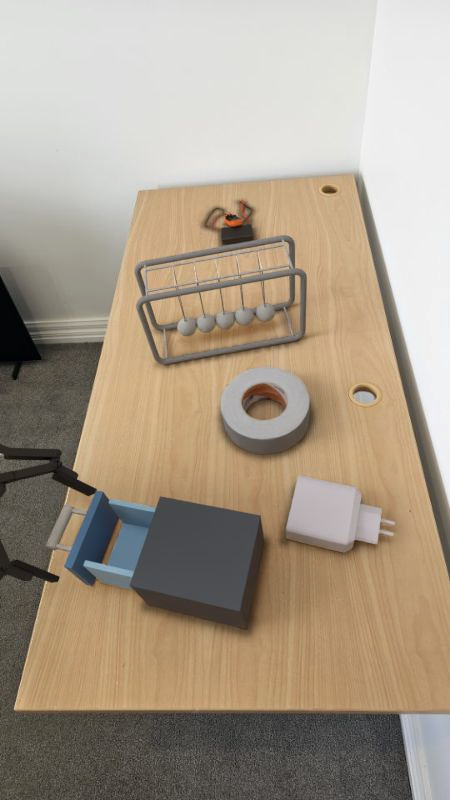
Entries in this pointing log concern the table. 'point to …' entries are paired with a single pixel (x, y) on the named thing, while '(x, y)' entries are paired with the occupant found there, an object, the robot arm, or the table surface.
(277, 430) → the tape roll
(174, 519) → the cabinet
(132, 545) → the drawer
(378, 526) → the charger
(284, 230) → the table surface
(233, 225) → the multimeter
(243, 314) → the newton's cradle
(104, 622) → the table surface
